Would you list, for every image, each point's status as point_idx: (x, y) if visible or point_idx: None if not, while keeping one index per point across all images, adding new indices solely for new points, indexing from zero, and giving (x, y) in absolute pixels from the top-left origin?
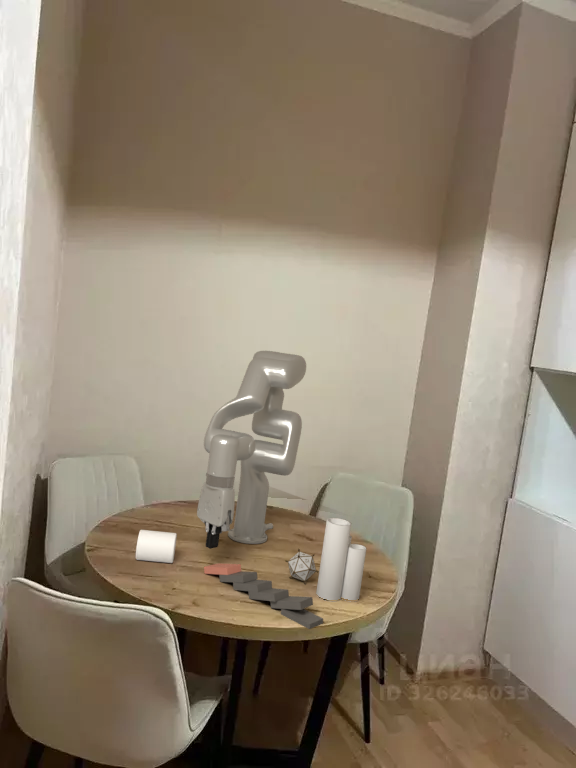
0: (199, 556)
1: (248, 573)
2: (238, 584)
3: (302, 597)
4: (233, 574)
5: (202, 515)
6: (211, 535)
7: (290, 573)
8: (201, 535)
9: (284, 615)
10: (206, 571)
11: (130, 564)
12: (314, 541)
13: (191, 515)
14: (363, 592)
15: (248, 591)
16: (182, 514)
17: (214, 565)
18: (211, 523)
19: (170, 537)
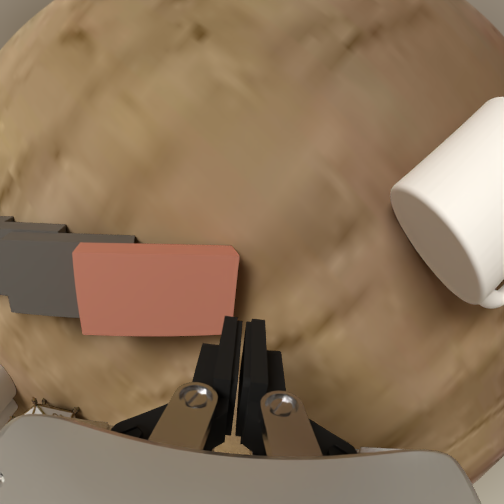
0: (363, 352)
1: (13, 280)
2: (33, 228)
3: None
4: (59, 255)
5: (369, 500)
6: (214, 377)
7: (70, 416)
8: (431, 433)
9: None
10: (218, 247)
11: (464, 87)
12: None
13: (478, 452)
14: (8, 420)
15: (3, 221)
16: (493, 441)
17: (202, 291)
18: (143, 443)
19: (479, 218)
